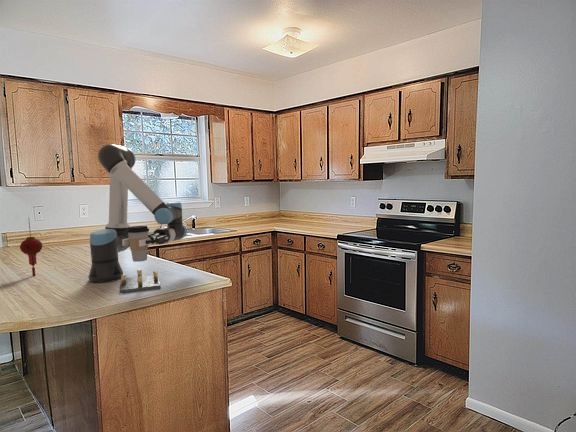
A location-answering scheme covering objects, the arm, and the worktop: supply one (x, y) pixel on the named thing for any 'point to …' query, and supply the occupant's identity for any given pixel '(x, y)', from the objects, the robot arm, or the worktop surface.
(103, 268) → the robot arm
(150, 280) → the pin plate
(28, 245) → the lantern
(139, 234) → the coffee cup
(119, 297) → the worktop surface
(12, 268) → the worktop surface
